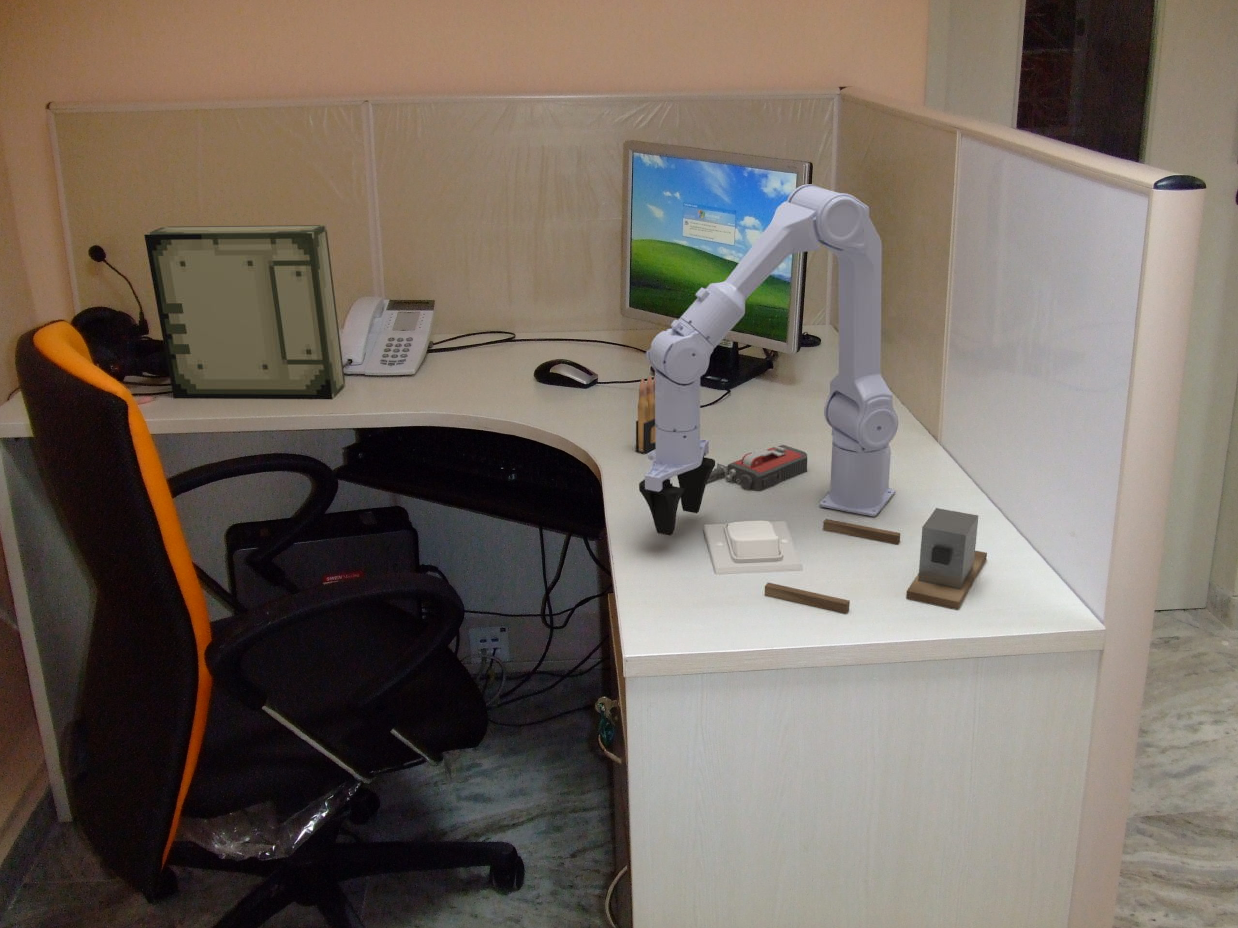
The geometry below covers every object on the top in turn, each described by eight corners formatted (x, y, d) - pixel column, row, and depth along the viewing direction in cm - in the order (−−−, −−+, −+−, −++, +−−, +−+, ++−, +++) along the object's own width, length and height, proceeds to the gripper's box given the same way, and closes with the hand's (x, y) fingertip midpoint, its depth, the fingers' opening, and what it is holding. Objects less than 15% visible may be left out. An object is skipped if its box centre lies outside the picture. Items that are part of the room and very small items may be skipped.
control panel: (345, 386, 215) (326, 225, 204) (332, 399, 208) (311, 233, 197) (191, 385, 218) (164, 226, 207) (173, 398, 211) (144, 234, 200)
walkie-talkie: (771, 455, 178) (678, 492, 166) (772, 429, 176) (677, 463, 164) (815, 471, 172) (722, 510, 160) (816, 443, 170) (722, 480, 158)
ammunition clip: (644, 454, 179) (643, 380, 174) (635, 452, 180) (633, 378, 176) (685, 434, 187) (685, 363, 182) (676, 432, 188) (675, 361, 183)
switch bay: (825, 526, 153) (825, 518, 152) (899, 541, 148) (900, 532, 148) (764, 594, 136) (764, 585, 135) (846, 613, 131) (846, 604, 131)
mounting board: (937, 550, 145) (938, 543, 145) (986, 559, 143) (987, 552, 142) (906, 598, 134) (906, 590, 134) (958, 609, 131) (958, 601, 131)
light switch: (715, 554, 140) (703, 506, 151) (715, 584, 142) (703, 533, 153) (804, 550, 140) (785, 502, 152) (802, 580, 142) (784, 530, 153)
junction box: (932, 559, 141) (936, 507, 138) (973, 567, 139) (979, 514, 136) (916, 583, 135) (920, 529, 133) (959, 592, 133) (964, 537, 130)
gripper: (675, 403, 154) (675, 496, 159) (622, 438, 142) (624, 537, 147) (723, 411, 151) (722, 506, 156) (673, 446, 139) (674, 548, 144)
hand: (678, 522), depth 151 cm, fingers open, 7 cm apart
